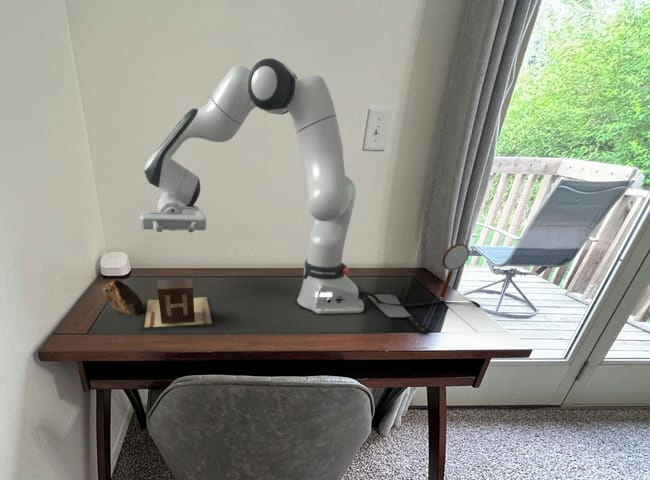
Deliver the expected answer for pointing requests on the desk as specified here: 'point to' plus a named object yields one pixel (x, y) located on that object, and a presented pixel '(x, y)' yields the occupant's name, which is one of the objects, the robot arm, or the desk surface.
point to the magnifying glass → (454, 261)
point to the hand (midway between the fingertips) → (175, 229)
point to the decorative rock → (122, 297)
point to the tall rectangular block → (176, 301)
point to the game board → (200, 318)
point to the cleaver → (396, 310)
